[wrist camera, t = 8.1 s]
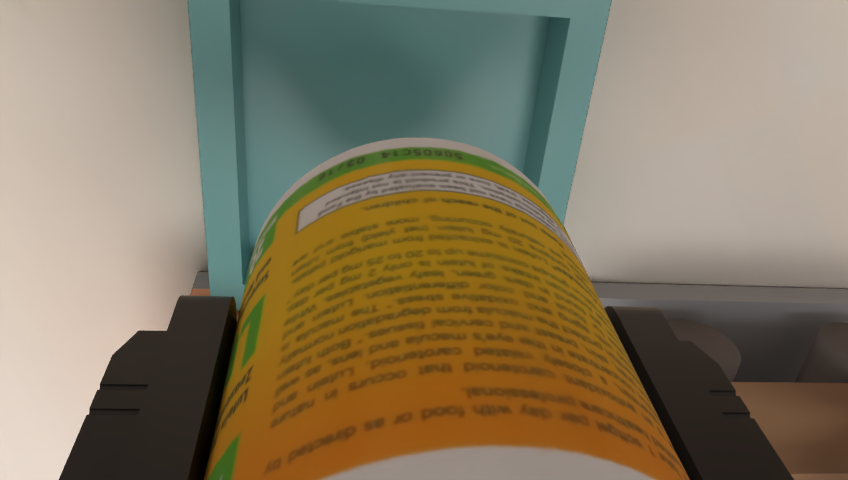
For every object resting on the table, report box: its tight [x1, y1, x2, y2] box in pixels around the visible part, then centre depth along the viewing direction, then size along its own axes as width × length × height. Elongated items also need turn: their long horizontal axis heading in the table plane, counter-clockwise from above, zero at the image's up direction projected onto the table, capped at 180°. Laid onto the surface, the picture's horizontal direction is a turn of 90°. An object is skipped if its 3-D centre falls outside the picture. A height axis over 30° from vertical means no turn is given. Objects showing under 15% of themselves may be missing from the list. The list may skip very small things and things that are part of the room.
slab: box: [666, 319, 848, 480], centre depth 20 cm, size 8×6×5 cm
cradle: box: [188, 0, 612, 311], centre depth 17 cm, size 9×9×2 cm
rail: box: [190, 272, 848, 383], centre depth 20 cm, size 21×7×6 cm, turn 85°
